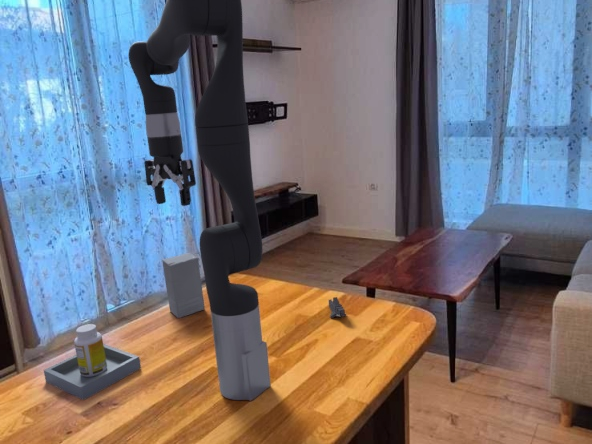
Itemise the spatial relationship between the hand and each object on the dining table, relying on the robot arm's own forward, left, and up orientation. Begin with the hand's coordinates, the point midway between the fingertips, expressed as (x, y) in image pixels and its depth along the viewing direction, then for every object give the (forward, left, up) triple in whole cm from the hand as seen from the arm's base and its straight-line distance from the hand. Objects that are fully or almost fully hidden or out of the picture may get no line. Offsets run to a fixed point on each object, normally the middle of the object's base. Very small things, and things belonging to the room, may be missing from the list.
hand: (173, 204), depth 119 cm
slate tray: (+4, +24, -33) cm, 41 cm away
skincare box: (+12, -10, -33) cm, 37 cm away
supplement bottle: (+4, +24, -32) cm, 41 cm away
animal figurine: (-27, -26, -33) cm, 50 cm away
